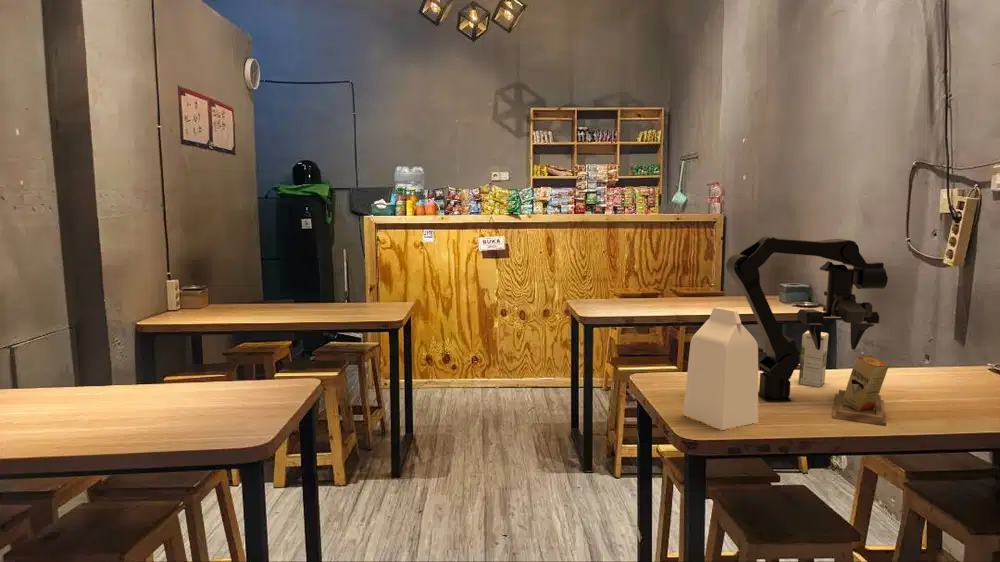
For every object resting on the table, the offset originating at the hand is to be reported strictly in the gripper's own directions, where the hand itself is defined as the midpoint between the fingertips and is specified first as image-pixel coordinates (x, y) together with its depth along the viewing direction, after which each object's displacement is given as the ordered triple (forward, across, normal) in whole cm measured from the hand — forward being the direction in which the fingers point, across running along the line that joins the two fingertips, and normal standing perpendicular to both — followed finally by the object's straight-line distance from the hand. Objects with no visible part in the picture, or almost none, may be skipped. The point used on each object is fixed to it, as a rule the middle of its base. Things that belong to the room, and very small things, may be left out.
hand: (835, 349), depth 169 cm
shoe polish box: (+12, +1, -9) cm, 15 cm away
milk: (+13, -35, -15) cm, 40 cm away
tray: (+13, +2, -9) cm, 16 cm away
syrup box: (+13, +2, +14) cm, 19 cm away
